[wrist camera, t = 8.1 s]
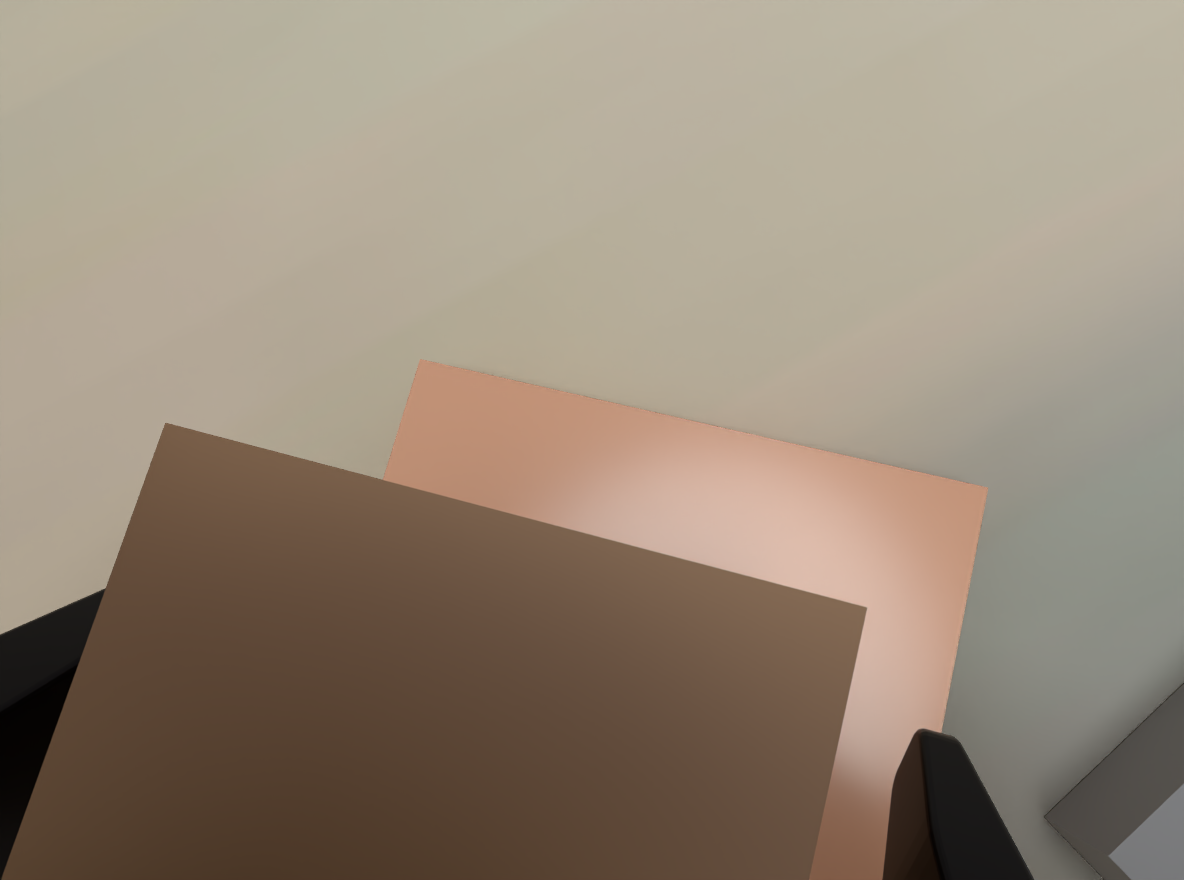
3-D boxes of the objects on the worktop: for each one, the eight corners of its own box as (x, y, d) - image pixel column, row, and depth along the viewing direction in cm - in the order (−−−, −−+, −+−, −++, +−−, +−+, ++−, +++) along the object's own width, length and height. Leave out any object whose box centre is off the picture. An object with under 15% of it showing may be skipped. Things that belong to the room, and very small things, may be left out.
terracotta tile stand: (843, 1099, 17) (859, 1161, 15) (292, 896, 19) (244, 927, 17) (960, 501, 19) (988, 488, 17) (448, 383, 21) (420, 359, 19)
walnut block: (708, 883, 16) (665, 1555, 4) (459, 800, 17) (-106, 1175, 5) (770, 618, 17) (868, 608, 5) (528, 553, 18) (164, 422, 6)
